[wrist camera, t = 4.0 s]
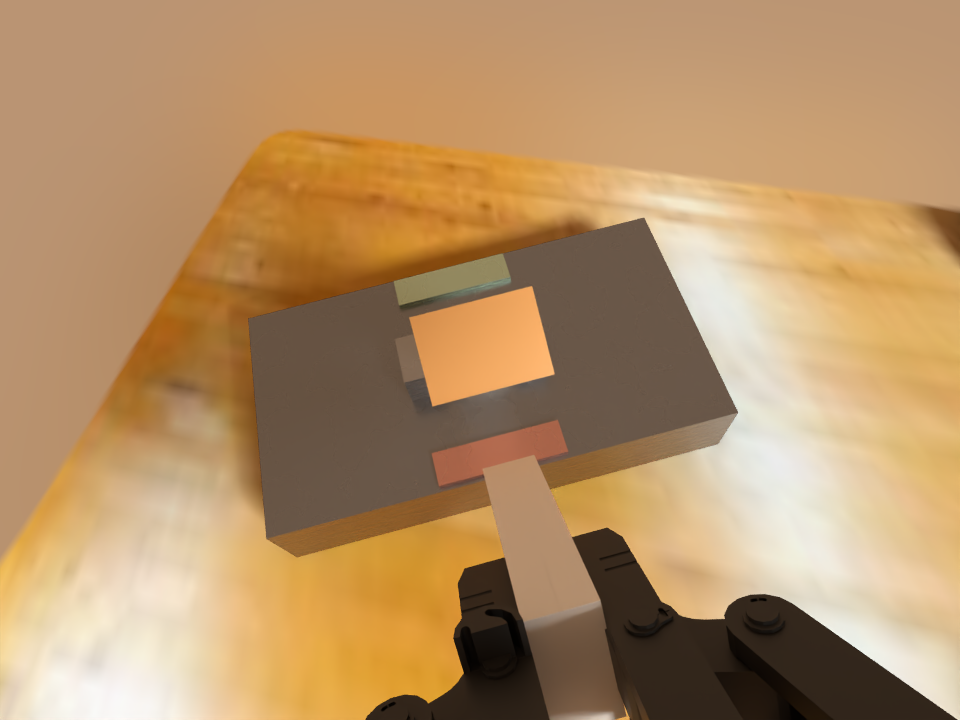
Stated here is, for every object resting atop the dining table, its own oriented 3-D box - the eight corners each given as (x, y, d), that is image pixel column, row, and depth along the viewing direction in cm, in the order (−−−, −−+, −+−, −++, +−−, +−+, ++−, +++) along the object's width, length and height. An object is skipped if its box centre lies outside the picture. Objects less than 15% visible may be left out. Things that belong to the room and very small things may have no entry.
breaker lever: (499, 312, 32) (532, 285, 19) (512, 363, 32) (554, 374, 19) (428, 331, 32) (409, 317, 18) (441, 382, 32) (432, 406, 18)
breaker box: (635, 261, 39) (649, 191, 34) (718, 443, 33) (750, 394, 28) (275, 354, 38) (232, 297, 33) (296, 557, 32) (248, 527, 27)
